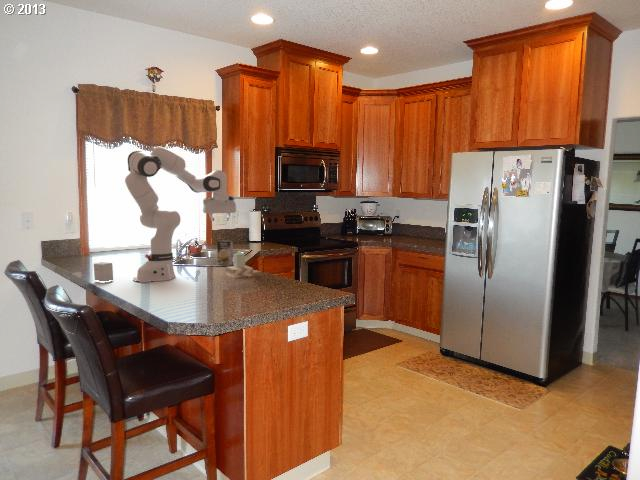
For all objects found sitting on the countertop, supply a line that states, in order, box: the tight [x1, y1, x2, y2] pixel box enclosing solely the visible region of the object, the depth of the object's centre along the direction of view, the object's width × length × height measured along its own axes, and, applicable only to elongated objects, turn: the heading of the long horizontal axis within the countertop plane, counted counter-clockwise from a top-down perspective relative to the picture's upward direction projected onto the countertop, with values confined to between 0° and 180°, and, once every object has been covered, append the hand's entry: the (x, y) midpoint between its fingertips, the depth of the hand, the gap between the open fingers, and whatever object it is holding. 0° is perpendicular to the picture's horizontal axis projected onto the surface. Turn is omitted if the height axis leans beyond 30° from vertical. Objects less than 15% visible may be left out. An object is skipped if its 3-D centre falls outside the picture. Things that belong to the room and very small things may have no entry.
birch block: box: [225, 264, 254, 279], centre depth 274 cm, size 12×12×5 cm
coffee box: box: [216, 239, 234, 266], centre depth 312 cm, size 9×6×16 cm
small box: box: [93, 261, 114, 281], centre depth 254 cm, size 8×6×10 cm
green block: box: [232, 252, 246, 268], centre depth 274 cm, size 5×5×8 cm
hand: (219, 220), depth 283 cm, fingers open, 8 cm apart
